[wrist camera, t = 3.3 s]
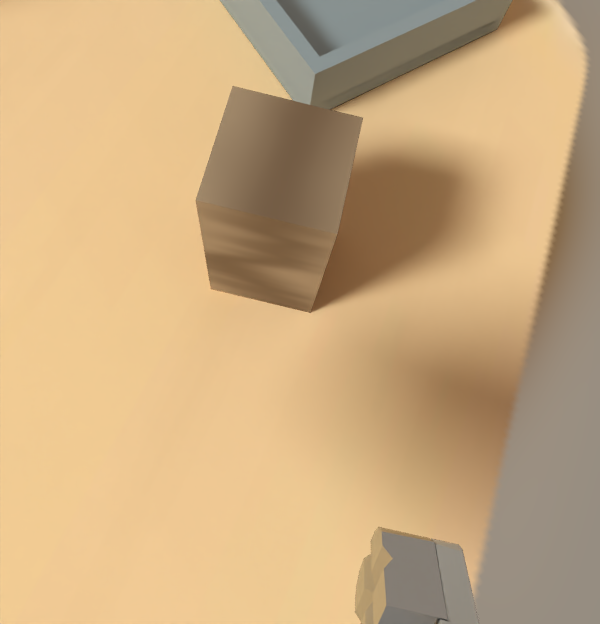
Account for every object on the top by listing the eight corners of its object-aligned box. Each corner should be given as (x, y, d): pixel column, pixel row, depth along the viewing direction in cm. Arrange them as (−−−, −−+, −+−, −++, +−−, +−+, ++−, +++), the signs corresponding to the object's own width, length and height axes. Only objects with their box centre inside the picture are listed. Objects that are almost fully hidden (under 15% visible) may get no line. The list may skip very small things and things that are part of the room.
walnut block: (211, 289, 27) (195, 200, 19) (236, 201, 28) (232, 85, 20) (310, 312, 27) (337, 234, 19) (330, 224, 29) (362, 117, 20)
